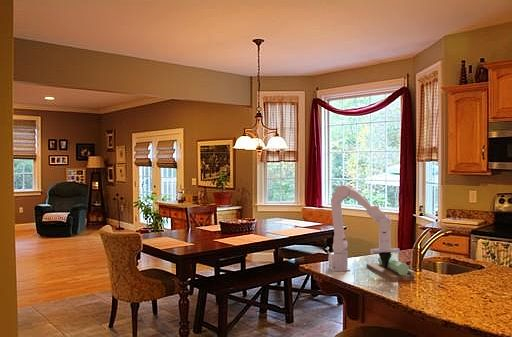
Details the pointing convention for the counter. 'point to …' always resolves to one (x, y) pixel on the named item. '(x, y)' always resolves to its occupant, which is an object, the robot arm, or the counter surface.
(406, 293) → the counter surface
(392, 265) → the container
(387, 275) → the shelf
